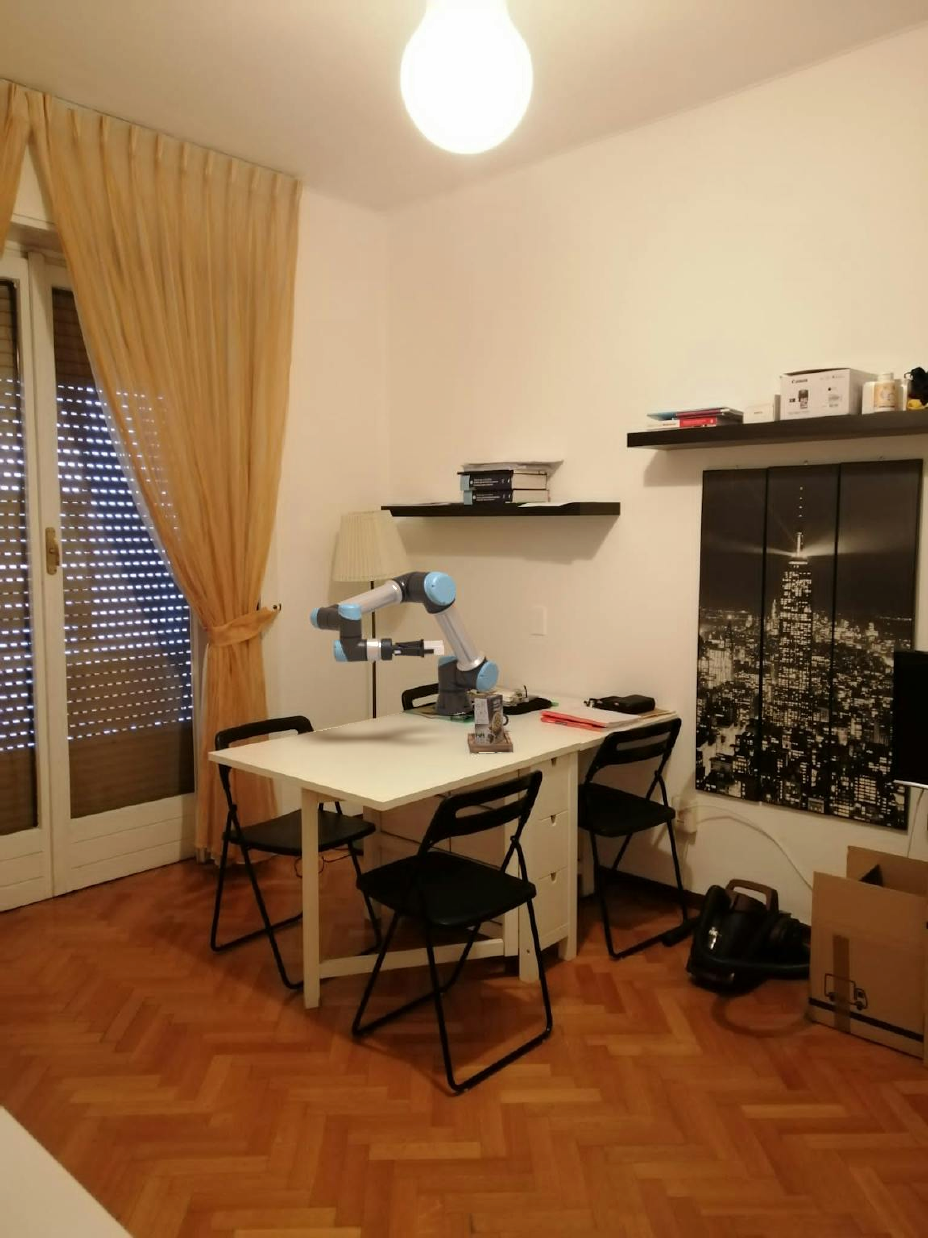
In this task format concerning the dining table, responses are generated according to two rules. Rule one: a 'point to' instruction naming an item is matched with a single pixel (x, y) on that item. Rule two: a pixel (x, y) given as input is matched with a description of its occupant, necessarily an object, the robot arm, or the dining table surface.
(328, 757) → the dining table surface
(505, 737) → the tray
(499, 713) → the coffee box
